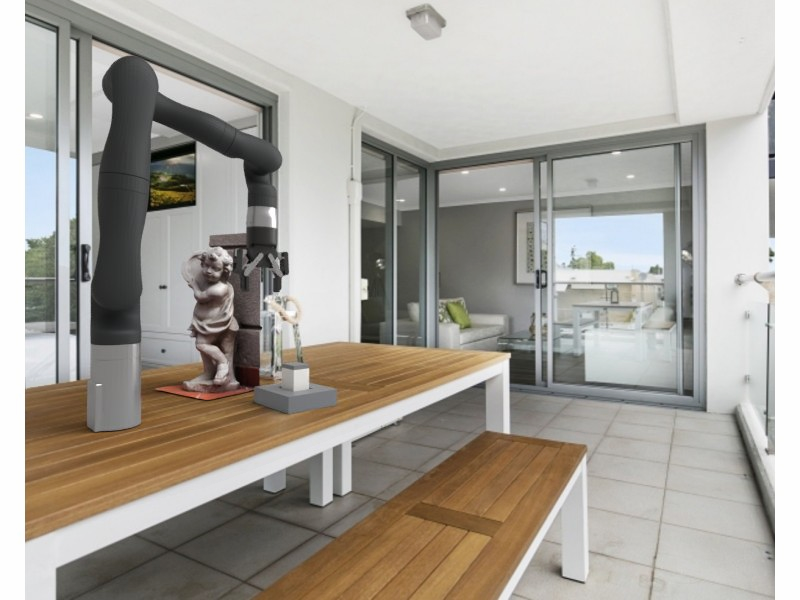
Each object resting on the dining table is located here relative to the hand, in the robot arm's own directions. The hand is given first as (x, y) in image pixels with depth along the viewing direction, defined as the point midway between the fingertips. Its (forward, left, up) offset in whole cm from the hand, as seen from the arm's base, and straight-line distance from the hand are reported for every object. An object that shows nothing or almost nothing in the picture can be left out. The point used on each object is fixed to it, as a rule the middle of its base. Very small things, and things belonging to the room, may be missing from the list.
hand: (261, 292), depth 125 cm
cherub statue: (-2, +25, -28) cm, 38 cm away
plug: (+7, -5, -27) cm, 28 cm away
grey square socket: (+7, -5, -28) cm, 29 cm away
